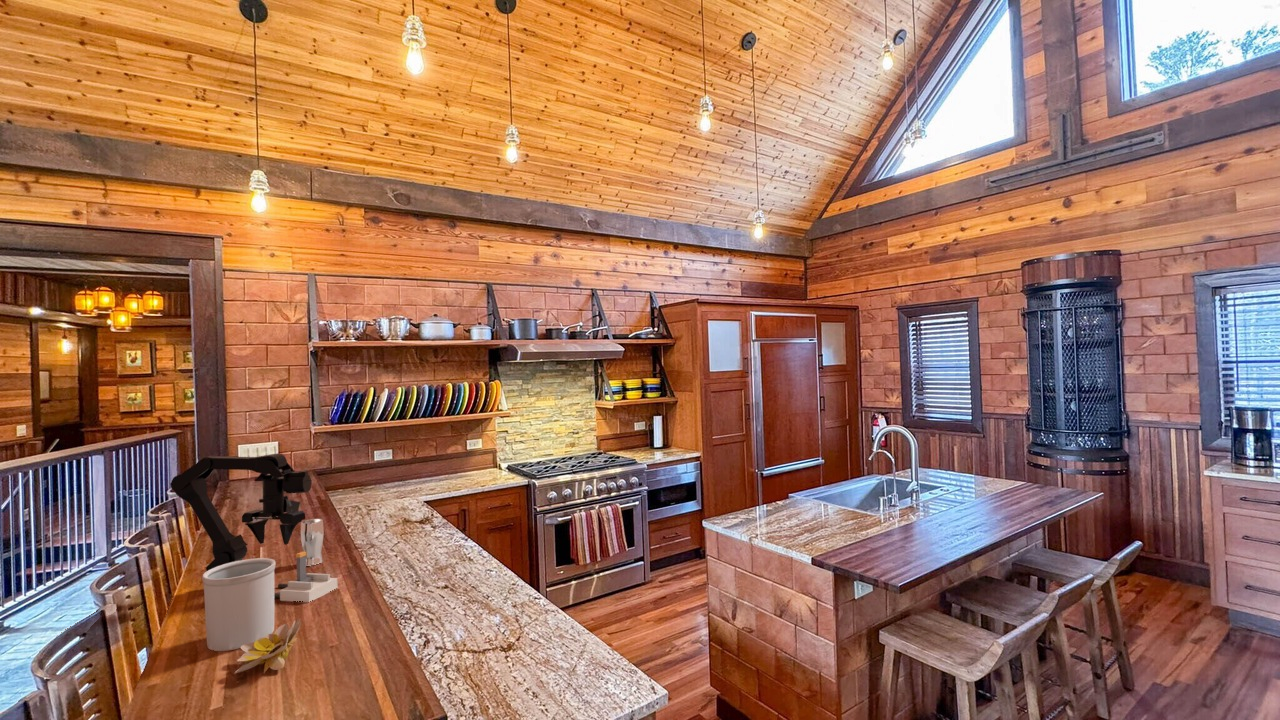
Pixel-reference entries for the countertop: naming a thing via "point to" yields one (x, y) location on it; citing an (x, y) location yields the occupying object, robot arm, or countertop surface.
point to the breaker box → (307, 588)
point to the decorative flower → (270, 648)
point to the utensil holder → (239, 603)
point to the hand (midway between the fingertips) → (274, 543)
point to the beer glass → (312, 540)
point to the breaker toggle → (302, 568)
